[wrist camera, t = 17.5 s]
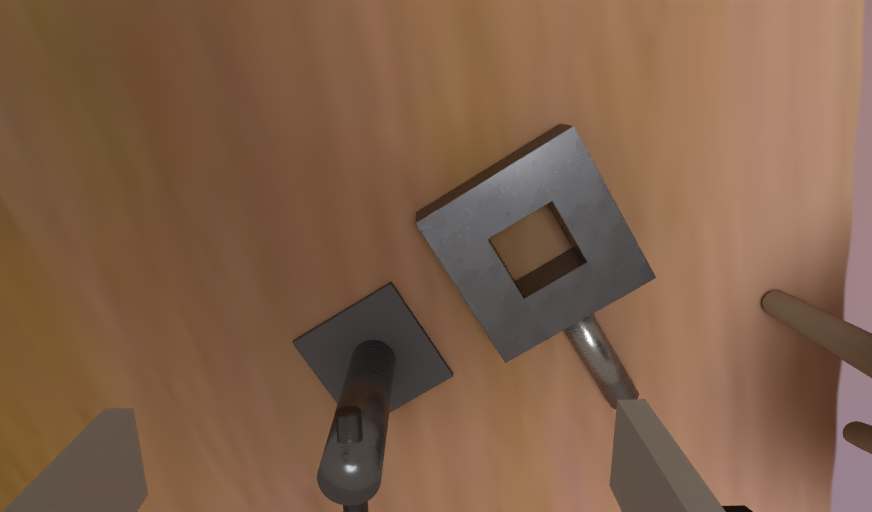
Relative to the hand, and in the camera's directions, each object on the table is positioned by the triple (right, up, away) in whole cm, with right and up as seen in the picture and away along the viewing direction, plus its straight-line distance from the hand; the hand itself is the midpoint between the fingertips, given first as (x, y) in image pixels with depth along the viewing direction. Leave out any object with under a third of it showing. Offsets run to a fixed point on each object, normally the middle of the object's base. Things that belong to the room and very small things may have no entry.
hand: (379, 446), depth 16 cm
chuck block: (+11, +3, +28) cm, 30 cm away
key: (-3, -3, +29) cm, 29 cm away
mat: (-3, -3, +30) cm, 30 cm away
